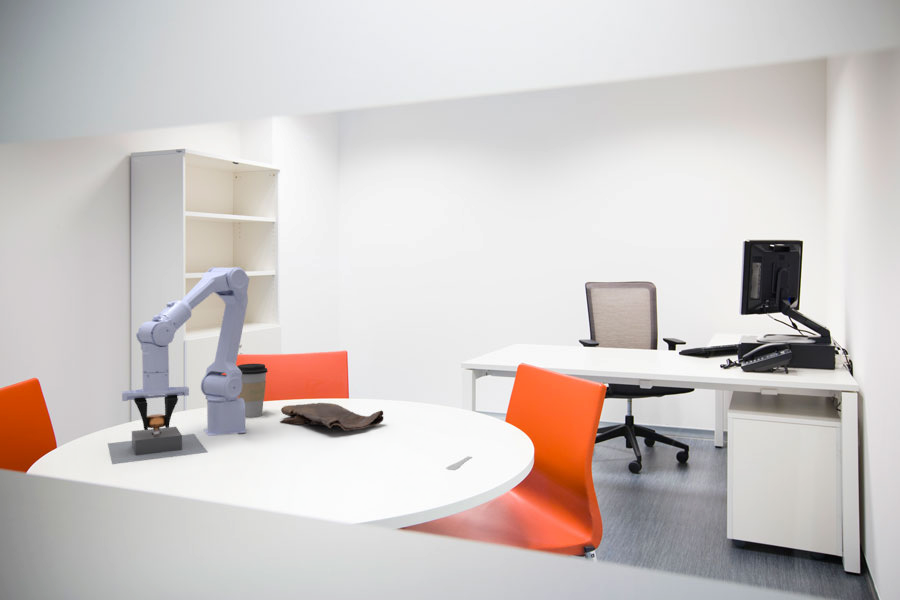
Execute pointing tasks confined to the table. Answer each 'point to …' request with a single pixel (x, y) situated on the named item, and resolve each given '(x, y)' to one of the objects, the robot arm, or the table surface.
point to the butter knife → (458, 464)
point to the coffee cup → (253, 388)
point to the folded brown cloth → (329, 416)
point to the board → (125, 453)
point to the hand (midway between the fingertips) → (156, 427)
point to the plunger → (156, 422)
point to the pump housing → (156, 441)
